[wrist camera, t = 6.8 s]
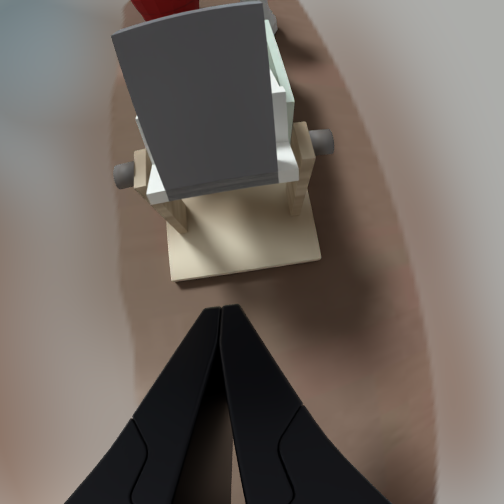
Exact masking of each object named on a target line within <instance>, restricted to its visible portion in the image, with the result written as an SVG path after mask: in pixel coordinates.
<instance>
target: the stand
mask: <svg viewBox="0 0 504 504" xmlns="http://www.w3.org/2000/svg"><path fill="white" fill-rule="evenodd" d="M291 149H292V152H293V154H294V157H295V160H296V163H297V165H298V168H299V181H292V182H284V183H277V184H270V185H263V186H256V187H250V188H243V189H237V190H231V191H225V192H219V193H213V194H207V195H201V196H196V197H190V198H185V199H180V200H174V201H169V202H164V203H159V204H154V205H151V204H150V202H149V200H148V197H147V195H146V193H147V188H148V183H149V178H150V173H151V168H152V162H151V160H150V157H149V155H148V152H147V149H142V150H138V151H134V161H132V162H128V163H124V164H120V165H116V166H115V167H114V173H113V174H114V181H115V184H116V186H117V187H118V188H119V189H124V188H128V187H133V186H134V189H135V190H136V191H137V192H138V193H139V194H140V195H141V196H142V197H143V198H144V199H145V200H146V201H147V202H148V203H149V204H150V205H151V206H152V207H153V208H154V209H155V210H156V211H157V212H158V213H159V214H160V215H161V216H162V217H163V218H164V219H165V220H166V224H167V238H168V250H169V262H170V272H171V281H174V282H178V281H185V280H192V279H199V278H206V277H213V276H220V275H227V274H233V273H240V272H247V271H253V270H260V269H267V268H273V267H279V266H286V265H292V264H299V263H305V262H311V261H317V260H320V259H321V253H320V248H319V243H318V237H317V232H316V227H315V223H314V218H313V213H312V208H311V203H310V199H309V194H308V190H307V187H308V184H309V180H310V177H311V173H312V169H313V166H314V162H315V158H316V157H315V156H317V155H326V154H333V152H334V140H333V135H332V132H331V131H330V129H323V130H312V131H308V128H307V124H306V122H296V123H293V129H292V138H291Z"/></svg>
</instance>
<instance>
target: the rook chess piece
mask: <svg viewBox="0 0 504 504" xmlns="http://www.w3.org/2000/svg"><path fill="white" fill-rule="evenodd" d="M249 1H260V2H262V3H263V10H264V19H265V20H269V23H270V26H271V29H272V32H273V34H275V33H276V31H277V29H278V28H277V21H276V17H275V15H274V14H272V11H271V10H270V9H269V7H268V3H267V0H240V2H249Z"/></svg>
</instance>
